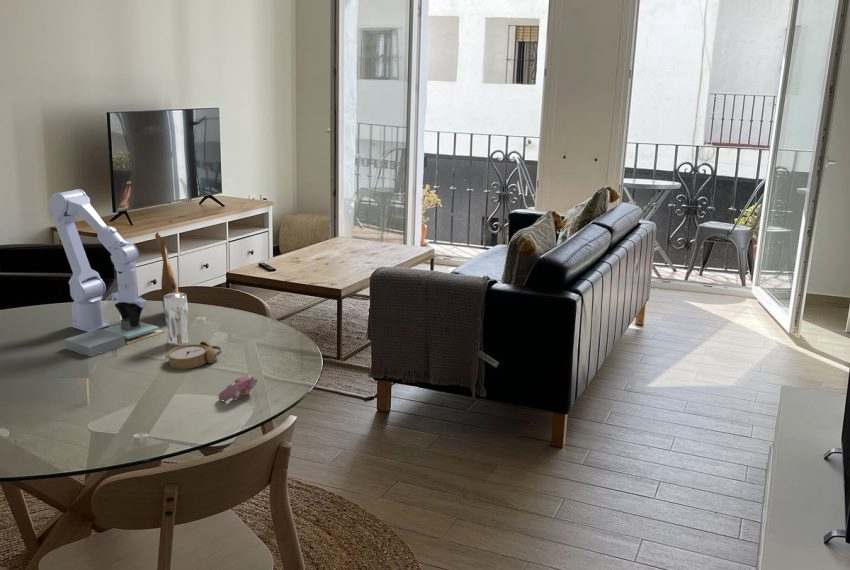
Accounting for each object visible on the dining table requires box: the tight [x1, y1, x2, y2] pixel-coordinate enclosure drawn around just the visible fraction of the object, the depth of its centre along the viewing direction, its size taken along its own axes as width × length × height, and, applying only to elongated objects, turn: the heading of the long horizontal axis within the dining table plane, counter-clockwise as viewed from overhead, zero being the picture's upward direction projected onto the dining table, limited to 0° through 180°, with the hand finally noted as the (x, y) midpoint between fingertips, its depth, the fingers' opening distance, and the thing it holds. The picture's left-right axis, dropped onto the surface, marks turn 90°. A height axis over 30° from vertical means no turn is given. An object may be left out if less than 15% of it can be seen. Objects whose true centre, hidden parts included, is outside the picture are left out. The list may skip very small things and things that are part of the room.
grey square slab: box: [64, 328, 126, 357], centre depth 247 cm, size 12×12×3 cm
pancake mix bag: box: [154, 231, 180, 310], centre depth 273 cm, size 7×19×28 cm, turn 17°
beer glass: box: [163, 292, 190, 347], centre depth 251 cm, size 7×7×15 cm
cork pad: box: [125, 329, 166, 345], centre depth 260 cm, size 14×14×1 cm
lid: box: [101, 318, 160, 339], centre depth 259 cm, size 12×12×4 cm
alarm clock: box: [165, 341, 223, 370], centre depth 237 cm, size 11×5×15 cm
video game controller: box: [218, 374, 258, 402], centre depth 213 cm, size 10×5×7 cm, turn 149°
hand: (131, 325), depth 259 cm, fingers closed on lid, 3 cm apart
